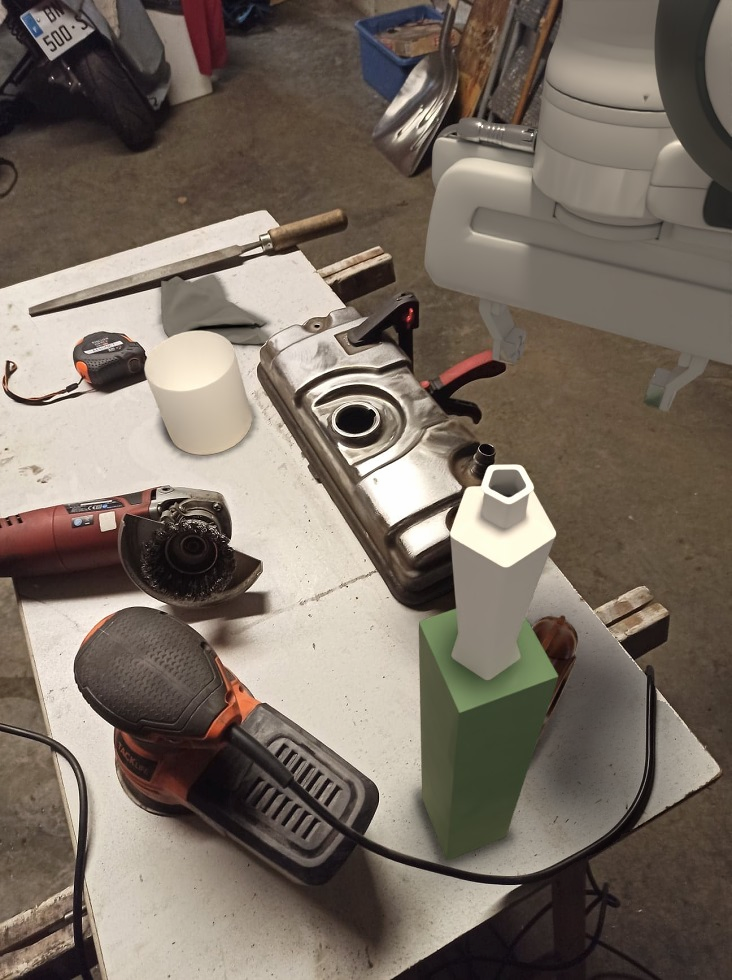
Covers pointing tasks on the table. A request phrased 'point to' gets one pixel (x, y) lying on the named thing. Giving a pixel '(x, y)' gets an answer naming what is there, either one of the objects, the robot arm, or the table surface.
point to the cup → (199, 391)
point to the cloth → (206, 311)
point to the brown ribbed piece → (557, 653)
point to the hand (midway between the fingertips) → (579, 379)
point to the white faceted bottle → (496, 566)
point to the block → (477, 734)
